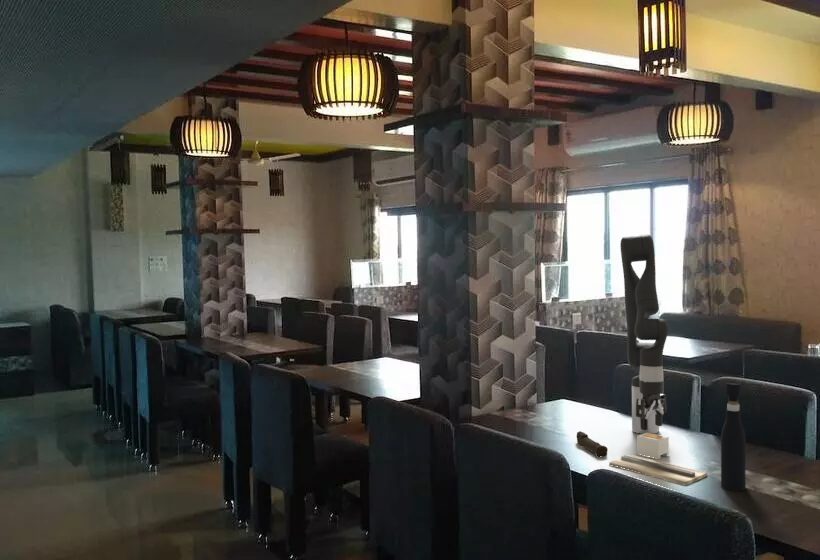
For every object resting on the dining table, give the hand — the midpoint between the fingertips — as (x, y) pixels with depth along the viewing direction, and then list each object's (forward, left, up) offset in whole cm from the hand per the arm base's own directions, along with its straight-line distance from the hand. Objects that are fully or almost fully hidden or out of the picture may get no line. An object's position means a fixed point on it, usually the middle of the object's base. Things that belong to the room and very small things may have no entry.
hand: (651, 427), depth 236 cm
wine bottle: (+12, +33, -9) cm, 36 cm away
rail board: (+14, +10, -9) cm, 19 cm away
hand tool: (+10, -18, -10) cm, 23 cm away
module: (0, 0, -9) cm, 9 cm away
